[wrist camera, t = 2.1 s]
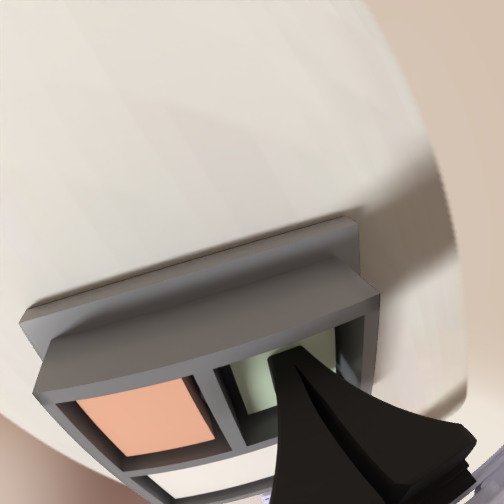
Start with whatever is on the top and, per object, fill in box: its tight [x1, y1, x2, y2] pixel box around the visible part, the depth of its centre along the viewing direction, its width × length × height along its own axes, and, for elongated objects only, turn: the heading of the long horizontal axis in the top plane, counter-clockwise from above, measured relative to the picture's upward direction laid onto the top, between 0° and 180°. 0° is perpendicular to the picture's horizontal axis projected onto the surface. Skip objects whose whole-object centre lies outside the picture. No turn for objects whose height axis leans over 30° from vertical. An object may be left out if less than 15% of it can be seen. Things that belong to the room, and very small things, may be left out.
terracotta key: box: [76, 376, 215, 456], centre depth 10 cm, size 4×4×2 cm
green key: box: [230, 327, 336, 415], centre depth 12 cm, size 4×4×2 cm
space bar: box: [147, 444, 277, 499], centre depth 13 cm, size 4×10×2 cm, turn 102°
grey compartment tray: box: [19, 216, 380, 504], centre depth 13 cm, size 14×14×4 cm
